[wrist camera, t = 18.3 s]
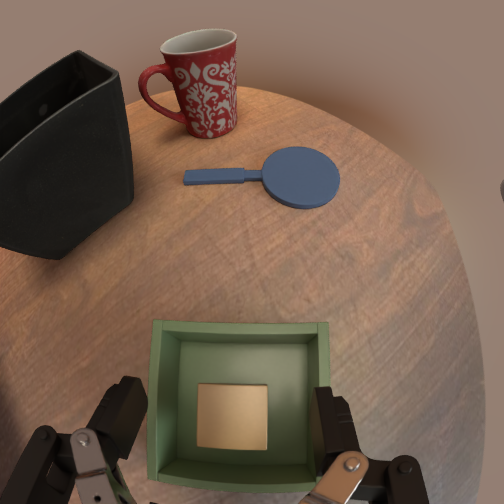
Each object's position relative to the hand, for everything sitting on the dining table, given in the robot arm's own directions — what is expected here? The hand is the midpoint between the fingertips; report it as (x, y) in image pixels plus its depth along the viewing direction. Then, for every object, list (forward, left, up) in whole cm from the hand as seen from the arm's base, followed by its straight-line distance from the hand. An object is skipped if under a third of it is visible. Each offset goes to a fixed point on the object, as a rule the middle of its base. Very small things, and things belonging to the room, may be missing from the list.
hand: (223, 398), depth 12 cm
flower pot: (+22, -21, -12) cm, 32 cm away
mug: (+7, -33, -12) cm, 35 cm away
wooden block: (0, +1, -11) cm, 11 cm away
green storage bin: (0, +1, -12) cm, 12 cm away
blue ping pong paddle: (-1, -23, -12) cm, 26 cm away
